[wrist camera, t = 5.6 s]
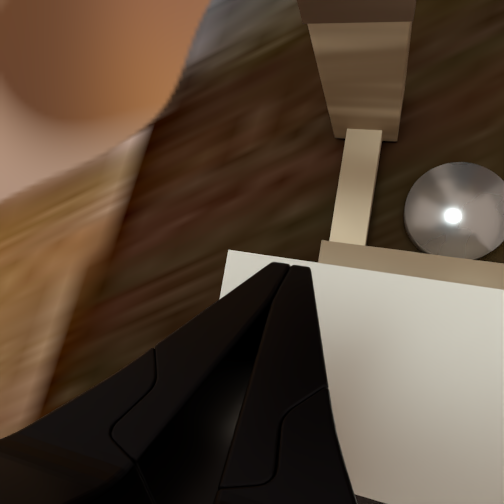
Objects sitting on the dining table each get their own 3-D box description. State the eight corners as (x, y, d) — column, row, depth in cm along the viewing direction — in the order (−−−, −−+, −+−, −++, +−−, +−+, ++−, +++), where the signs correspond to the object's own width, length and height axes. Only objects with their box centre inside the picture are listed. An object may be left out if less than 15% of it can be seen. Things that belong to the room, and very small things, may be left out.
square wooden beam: (508, 300, 19) (940, 237, 4) (311, 270, 21) (172, 168, 7) (532, 96, 19) (949, -511, 5) (340, 90, 22) (271, -325, 8)
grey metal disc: (500, 270, 19) (509, 266, 18) (397, 257, 21) (398, 253, 19) (510, 175, 20) (519, 165, 18) (409, 169, 21) (411, 159, 20)
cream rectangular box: (554, 509, 17) (610, 570, 13) (228, 420, 21) (192, 445, 17) (573, 310, 18) (631, 308, 14) (256, 262, 22) (228, 249, 18)
